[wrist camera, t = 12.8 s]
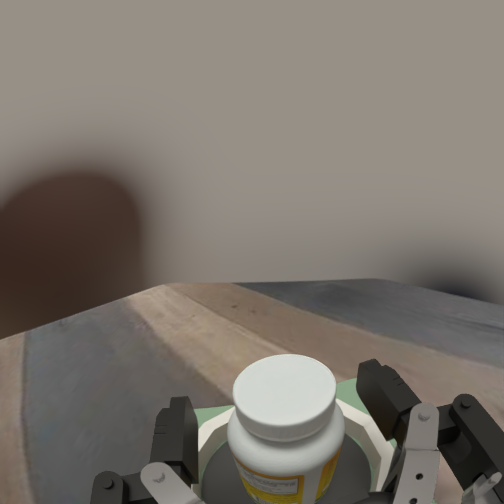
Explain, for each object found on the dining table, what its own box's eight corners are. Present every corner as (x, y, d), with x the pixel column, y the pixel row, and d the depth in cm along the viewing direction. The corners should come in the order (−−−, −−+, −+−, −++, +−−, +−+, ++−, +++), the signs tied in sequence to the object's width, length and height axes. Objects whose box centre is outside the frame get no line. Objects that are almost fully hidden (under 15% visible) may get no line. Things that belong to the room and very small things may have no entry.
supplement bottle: (263, 525, 9) (236, 463, 6) (234, 464, 14) (200, 365, 11) (347, 489, 10) (382, 397, 8) (307, 437, 15) (309, 331, 13)
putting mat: (167, 585, 4) (148, 582, 3) (173, 414, 19) (164, 395, 19) (441, 522, 5) (460, 510, 5) (355, 382, 21) (358, 361, 20)
